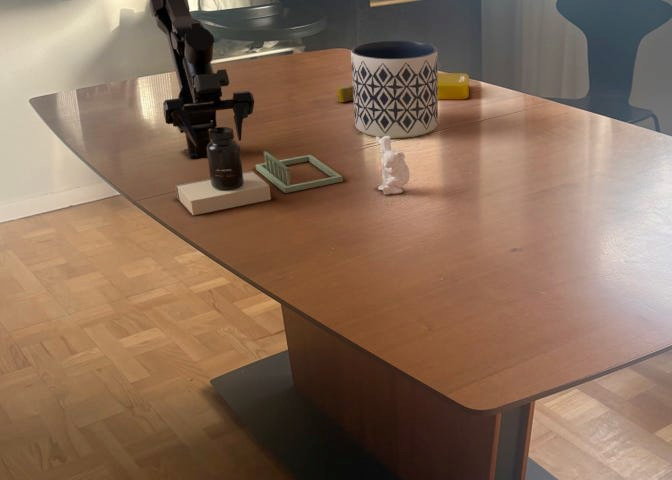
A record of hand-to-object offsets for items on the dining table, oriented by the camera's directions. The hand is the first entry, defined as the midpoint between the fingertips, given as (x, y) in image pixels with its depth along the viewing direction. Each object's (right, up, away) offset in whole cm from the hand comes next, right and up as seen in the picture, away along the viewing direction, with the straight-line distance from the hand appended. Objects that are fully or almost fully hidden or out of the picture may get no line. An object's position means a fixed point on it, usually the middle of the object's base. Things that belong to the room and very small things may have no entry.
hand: (218, 142), depth 178 cm
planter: (+35, +16, +48) cm, 61 cm away
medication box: (+21, +30, +72) cm, 80 cm away
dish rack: (+14, -4, +15) cm, 21 cm away
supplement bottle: (+2, -9, +1) cm, 9 cm away
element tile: (+48, +34, +77) cm, 97 cm away
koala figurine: (+37, -10, +6) cm, 38 cm away
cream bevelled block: (+1, -12, +2) cm, 12 cm away
